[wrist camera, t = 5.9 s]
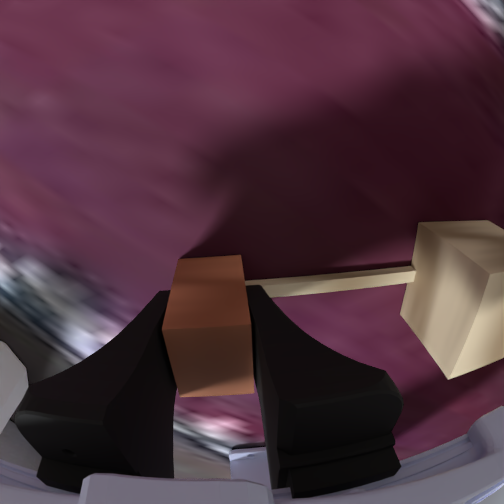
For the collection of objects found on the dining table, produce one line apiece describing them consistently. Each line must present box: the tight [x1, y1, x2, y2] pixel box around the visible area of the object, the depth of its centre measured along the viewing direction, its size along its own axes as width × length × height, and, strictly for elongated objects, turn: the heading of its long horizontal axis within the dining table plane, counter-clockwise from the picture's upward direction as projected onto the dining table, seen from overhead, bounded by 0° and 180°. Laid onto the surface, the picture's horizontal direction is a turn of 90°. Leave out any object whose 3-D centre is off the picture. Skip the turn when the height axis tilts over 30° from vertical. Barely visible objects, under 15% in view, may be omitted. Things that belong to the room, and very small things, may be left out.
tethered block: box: [162, 220, 504, 397], centre depth 11 cm, size 16×5×5 cm, turn 92°
